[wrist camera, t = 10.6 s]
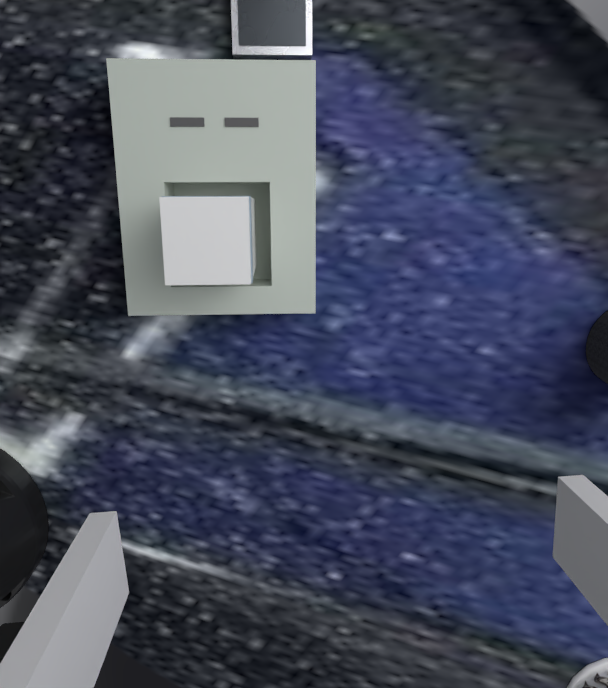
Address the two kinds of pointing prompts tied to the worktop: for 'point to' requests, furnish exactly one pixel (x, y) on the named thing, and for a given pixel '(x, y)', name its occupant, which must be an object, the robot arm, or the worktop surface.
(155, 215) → the outlet plate
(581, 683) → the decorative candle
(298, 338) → the worktop surface
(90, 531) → the robot arm
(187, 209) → the block
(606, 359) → the coffee cup
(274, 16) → the phone
